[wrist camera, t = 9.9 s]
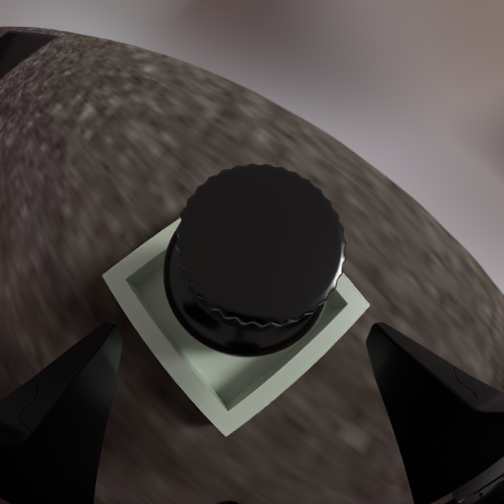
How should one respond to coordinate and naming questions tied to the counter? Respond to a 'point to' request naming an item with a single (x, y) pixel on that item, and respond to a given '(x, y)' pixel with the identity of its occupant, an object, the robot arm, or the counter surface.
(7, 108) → the counter surface
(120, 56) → the counter surface
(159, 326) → the mint green square tray
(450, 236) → the counter surface
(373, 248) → the counter surface
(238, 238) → the supplement bottle
